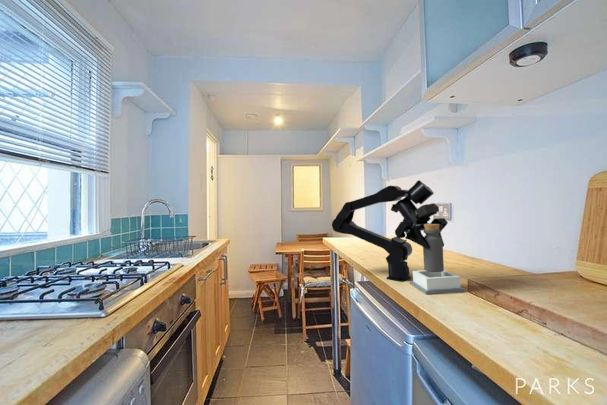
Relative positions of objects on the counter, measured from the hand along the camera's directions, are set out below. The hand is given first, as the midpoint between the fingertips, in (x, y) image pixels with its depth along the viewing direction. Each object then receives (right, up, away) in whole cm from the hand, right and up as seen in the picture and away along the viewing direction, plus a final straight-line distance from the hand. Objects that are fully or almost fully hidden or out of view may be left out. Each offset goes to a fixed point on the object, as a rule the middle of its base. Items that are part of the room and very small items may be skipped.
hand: (436, 247), depth 92 cm
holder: (0, -13, +1) cm, 13 cm away
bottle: (0, -8, +1) cm, 8 cm away
